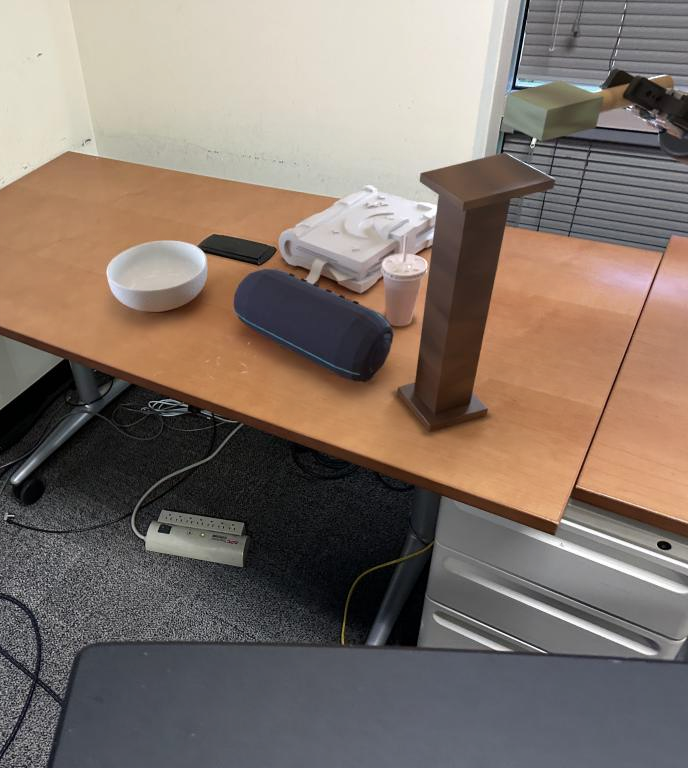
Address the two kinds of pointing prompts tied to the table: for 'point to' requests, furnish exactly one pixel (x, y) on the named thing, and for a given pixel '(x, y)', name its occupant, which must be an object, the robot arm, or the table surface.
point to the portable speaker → (315, 323)
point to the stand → (463, 281)
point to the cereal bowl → (158, 275)
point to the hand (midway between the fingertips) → (620, 82)
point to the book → (358, 237)
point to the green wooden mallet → (564, 107)
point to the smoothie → (402, 285)
